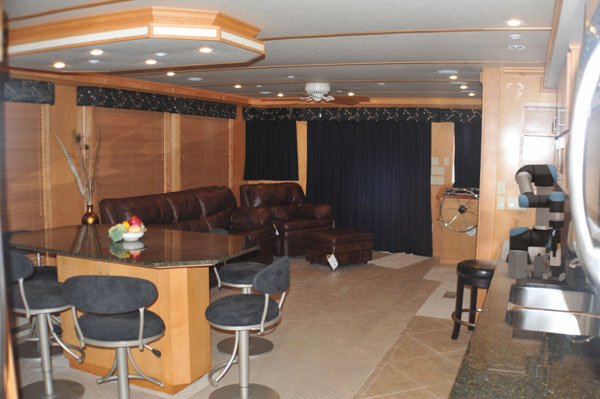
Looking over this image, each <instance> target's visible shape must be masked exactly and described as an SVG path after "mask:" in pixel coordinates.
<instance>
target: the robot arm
mask: <svg viewBox="0 0 600 399" xmlns="http://www.w3.org/2000/svg"><path fill="white" fill-rule="evenodd" d="M514 179H515V183H516V184H517V185H518V189H519V193H520V194H519V195H518V200H517V201H518V207H519V208H521V209H522V208H523V209H535V218H534V220H535V222H534V225H532V228H531V229H530V228H529V226H517V227H512V228H510V229H509V235H508V236H509V239H508V240H509V242H508V243H509V244H508V245H509V246H508V247H509V249H508V251H509V250H521V251H527V265H531V264H532V259H531V255H530V253H529V248H543V249H544V248H550V249H551V250H550V249H549V250H550V251H552V263H557V252H558V251H557V243H561V238H562V237H561V235H562V230H560V228H561V229H562V228H564V227H565V226H564V225H565V224H564V223H565V221H564V220H565V193H564V192H561V191H552V188H554V187H555V184H556V183H558V172H557V168H556V166H555V165H554V164H549V163H547V164H546V163H543V164H542V163H541V164H525V165H523V166H521V167H520V168H519V169H518V170H517V171H516V172H515V175H514ZM533 186H534V187H535V188H536V192H535V191H534V187H533ZM535 193H536V194H535ZM560 249H561V250H562V248H561V247H560ZM505 260H506V261H505V262H506V263H507V264H508V254H507V255H506V259H505Z"/></svg>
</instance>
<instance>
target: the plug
mask: <svg viewBox="0 0 600 399" xmlns="http://www.w3.org/2000/svg"><path fill="white" fill-rule="evenodd" d="M560 247H561V243H557V251H558V252H557V263H552V251H550V252H549V254H550V256H549V258H550V259H549V266H555V267H561V265H562V264H561V263H562V258H561V257H562V248H561V249H560ZM549 250H551V248H550V249H549Z"/></svg>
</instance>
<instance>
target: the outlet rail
mask: <svg viewBox="0 0 600 399" xmlns="http://www.w3.org/2000/svg"><path fill="white" fill-rule="evenodd" d="M528 278H530V279H538V280H539V279H540V280H546V281H547V280H549V281H558V282H563V281H564V280H565V279H566V273H565V272H562V273H560V275H559V276H558V277H556V276H555V277H554V276H552V271H550V270H549V271H544V273H543V277H542V278H537V277H534V269H532V270H530V271H528Z"/></svg>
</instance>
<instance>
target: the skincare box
mask: <svg viewBox="0 0 600 399" xmlns="http://www.w3.org/2000/svg"><path fill="white" fill-rule="evenodd" d="M507 255H508V263H507V265H508V266H507V268H508V269H507V272H508V273H507V275H508V276H507V277H508V278H509V279H510V278H511V279H514V280H523V279H528V264H527V251H521V250H509V249H508V253H507Z"/></svg>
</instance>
